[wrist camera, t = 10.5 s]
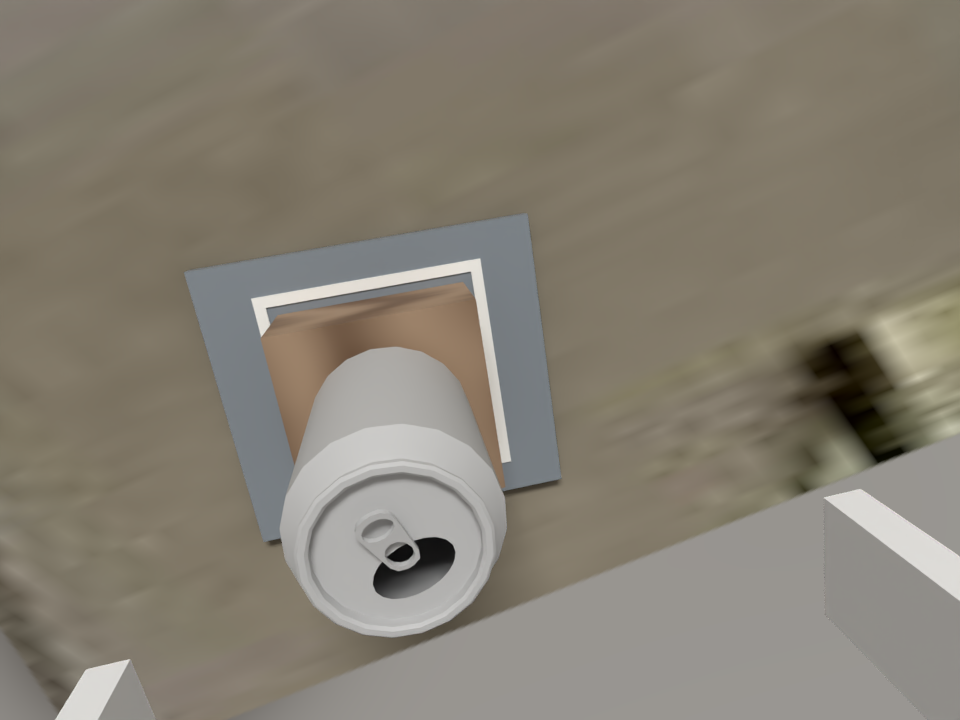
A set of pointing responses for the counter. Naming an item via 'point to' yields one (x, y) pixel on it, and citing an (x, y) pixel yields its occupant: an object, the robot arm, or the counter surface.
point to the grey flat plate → (369, 274)
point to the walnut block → (379, 324)
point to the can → (392, 497)
